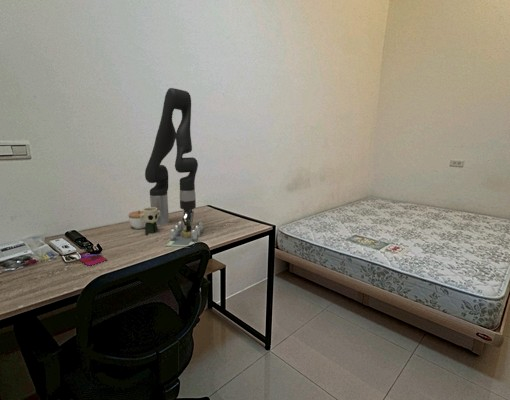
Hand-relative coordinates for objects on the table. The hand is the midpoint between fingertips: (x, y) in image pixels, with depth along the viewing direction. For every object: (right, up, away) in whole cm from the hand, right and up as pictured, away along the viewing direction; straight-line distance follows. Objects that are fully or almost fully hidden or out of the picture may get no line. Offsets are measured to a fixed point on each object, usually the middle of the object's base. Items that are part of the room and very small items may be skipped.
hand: (188, 232), depth 147 cm
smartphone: (-35, -8, -27) cm, 45 cm away
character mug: (-20, -1, +4) cm, 20 cm away
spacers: (0, -3, -2) cm, 3 cm away
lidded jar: (-30, +1, +13) cm, 32 cm away
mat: (0, -3, -4) cm, 5 cm away
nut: (0, -2, -4) cm, 4 cm away
